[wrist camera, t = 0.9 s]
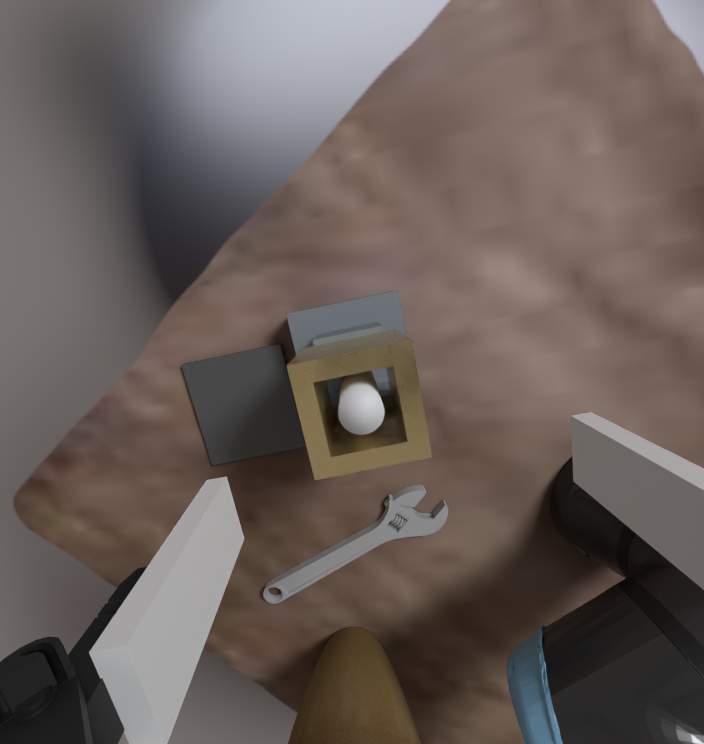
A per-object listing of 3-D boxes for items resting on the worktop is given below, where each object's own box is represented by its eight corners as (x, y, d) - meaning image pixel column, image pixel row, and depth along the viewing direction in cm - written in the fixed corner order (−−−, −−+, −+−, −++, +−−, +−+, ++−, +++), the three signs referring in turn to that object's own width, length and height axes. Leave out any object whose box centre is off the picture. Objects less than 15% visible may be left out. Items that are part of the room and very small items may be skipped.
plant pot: (432, 648, 48) (473, 818, 32) (352, 712, 50) (354, 901, 34) (353, 579, 46) (356, 725, 30) (272, 648, 48) (235, 820, 32)
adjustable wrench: (273, 597, 47) (270, 609, 45) (247, 559, 46) (243, 569, 44) (450, 515, 45) (454, 524, 43) (427, 473, 43) (430, 480, 42)
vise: (415, 414, 41) (461, 493, 25) (321, 433, 42) (303, 523, 25) (393, 291, 39) (427, 286, 22) (292, 312, 39) (250, 323, 22)
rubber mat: (306, 444, 42) (305, 446, 41) (214, 463, 42) (212, 465, 42) (281, 343, 40) (280, 344, 39) (183, 363, 40) (181, 364, 39)
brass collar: (411, 418, 32) (432, 457, 24) (322, 435, 32) (314, 480, 24) (395, 328, 30) (411, 339, 23) (302, 348, 31) (286, 365, 23)
